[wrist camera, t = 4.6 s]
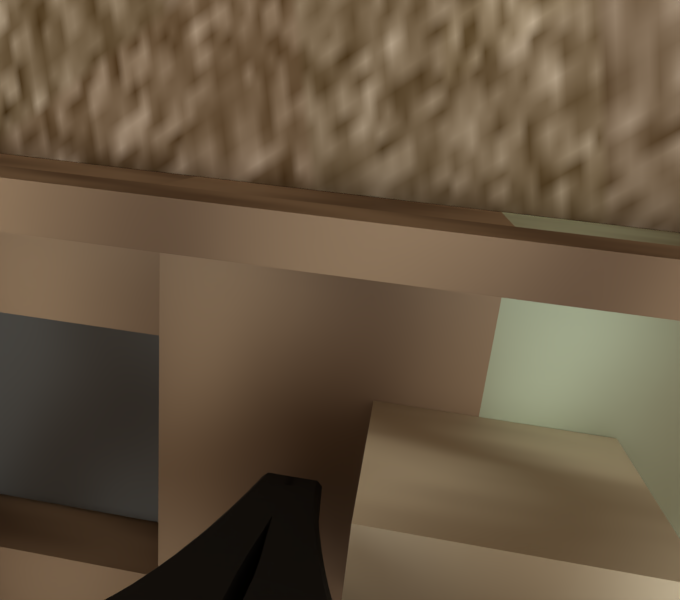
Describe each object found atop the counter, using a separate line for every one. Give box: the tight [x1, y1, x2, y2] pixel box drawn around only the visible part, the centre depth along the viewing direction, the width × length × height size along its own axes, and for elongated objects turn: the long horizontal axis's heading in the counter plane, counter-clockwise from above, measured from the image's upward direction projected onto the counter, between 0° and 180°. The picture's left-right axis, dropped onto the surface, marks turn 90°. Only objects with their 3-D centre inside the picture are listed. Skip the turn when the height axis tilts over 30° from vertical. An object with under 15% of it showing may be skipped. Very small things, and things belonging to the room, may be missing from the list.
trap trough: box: [0, 154, 680, 600], centre depth 14 cm, size 28×13×4 cm, turn 84°
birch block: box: [342, 401, 680, 600], centre depth 11 cm, size 5×5×4 cm
